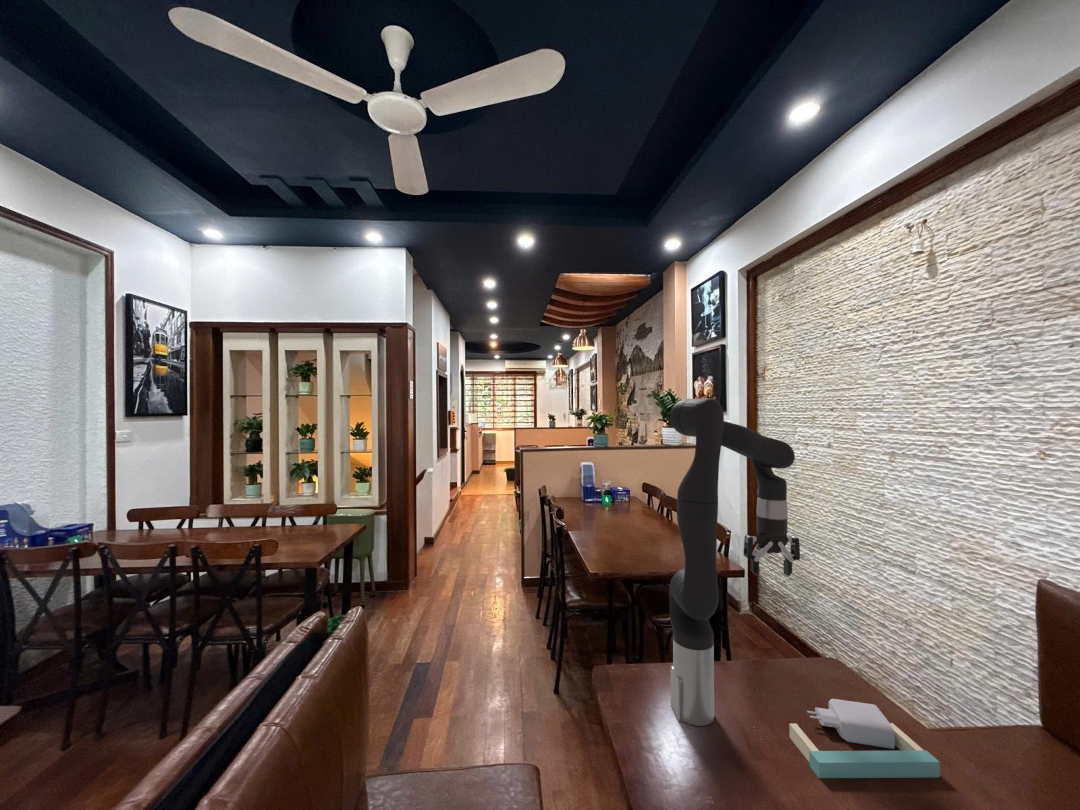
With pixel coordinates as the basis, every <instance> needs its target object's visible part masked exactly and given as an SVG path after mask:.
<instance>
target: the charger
mask: <svg viewBox="0 0 1080 810" xmlns="http://www.w3.org/2000/svg"><path fill="white" fill-rule="evenodd" d="M806 711H807V714H811V715H809V717H810V719H816V720H818V722H819V724H820V725H821V726H824V727H829V728H835V730H836V732H837V733H838V735H839V736H840V737H841V739H843V740H845V742H848V743H852V744H853V743H854V744H859V745H864V746H865V745H866V746H870V747H871V746H872V747H877V748H884V749H890V750H895V747H896V746H895V733H894V730H893V728H892V726H891V724H890V723H891V722H889V721H888V719H887V718H886V716H885V715H884V714H883V712H882V711H881V710H880V708H879V707H878V706H877V705H876V704H872V703H866V702H860V701H850V700H843V699H836V698H831V699H830V700H829V701H828V708H821V707H814V711H811V710H806ZM815 715H816V716H815Z"/></svg>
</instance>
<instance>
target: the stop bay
mask: <svg viewBox="0 0 1080 810" xmlns="http://www.w3.org/2000/svg"><path fill="white" fill-rule="evenodd" d="M889 723H890V724H891V726H892V728H893V730H894V733H895V747H896V748H898V750H819V749H818V748H817V747H816V745H815V744H814V743H813V742H812V740H810V738H809V737H808V736H807V734H806V733H805V732H804V731H803V730H802V728H800V726H799V725H798V724H797V723H789V726H788V727H789V738H790V740H791V741H792V742H793V744H794V745H795V746H796V748H797V749H798V750H799V751H800V753H801V754H802V755H803V756H804V758H805V759H806V760H807V761H808V763H809V767H810V769H811V771H813V772H814V774H815V775H816V777H817V778H818V779H867V778H868V779H881V778H882V779H888V778H889V779H890V778H891V779H892V778H894V779H898V778H901V779H903V778H904V779H906V778H910V779H911V778H914V779H915V778H916V779H917V778H919V779H920V778H921V779H922V778H941V762H940V761H939V760H938V759H937V758H936V757H935V756H934V755H932V754H931V753H930V752H929V751H928V750H926V749H925V750H924V749H923V748H922V747H921V746H920V745H918V744H917V743H916V742H915V741H914V740H913V739H911V737H909V736H908V735H907V734H906V733H904V732H903V730H901V729H900V728H899V727H898V726H897V725H895V724H894V723H893V722H889Z"/></svg>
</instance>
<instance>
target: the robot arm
mask: <svg viewBox="0 0 1080 810" xmlns="http://www.w3.org/2000/svg"><path fill="white" fill-rule="evenodd" d="M669 415H670V423H671V426H672V427H673V429H674V430H675V431H676V432H677V433H679V434H680V435H683V436H686V437H692V438H693V437H695V449H694V457H693V460H692V462H691V464H690V466H689V468H688V469H687V472H686V473H685V475H684V476H683V478H682V480H681V482H680V484H679V486H678V488H677V493H676V495H677V496H676V500H677V501H676V519H677V526H678V531H679V535H680V539H681V543H682V549H683V554H684V568H682V569H680V570H678V571H677V572H676V573H674V575H673V576H672V578H671V580H670V584H669V591H668V592H669V593H668V594H669V618H670V619H669V620H670V625H671V628H672V646H673V647H672V653H673V654H672V660H673V661H672V663H673V665H671V666H670V707H671V708H672V711H673V713H674V714H675V717H676V718H677V719H676V720H677V721H678V722H682V723H686V724H688V725H691V726H698V727H703V726H708V725H711V724H712V723H713V721H714V720H715V664H714V663H715V662H714V661H715V657H714V656H715V655H714V654H715V651H714V650H715V649H714V648H715V647H714V646H715V643H714V642H715V641H714V637H715V636H714V631H713V628H712V626H711V624H710V620H709V619H710V618H711V617H713V615H714V614H715V613H716V611H717V608H718V605H719V600H720V594H719V593H720V592H719V584H718V583H719V582H718V580H719V579H718V572H717V571H718V570H717V567H718V566H717V547H718V546H717V545H718V544H717V543H718V541H717V540H718V536H717V534H718V518H719V517H718V515H719V513H718V512H719V473H720V471H719V470H720V469H719V468H720V458H721V451H722V447H724V448H726V449H728V450H730V451H732V452H735V453H738V454H739V455H741V456H744V457H746V458H748V459H751V462H752V466H753V468H754V469H753V470H754V473H755V477H756V479H757V502H756V509H755V510H756V535H755V536H754V535H753V536H752V535H749V534H745V535H744V540H743V541H744V542H743V556H744V557H745V558H747V559H748V560H750V571H751V572H752V574H753V575H755V576H759V575H760V561H759V560H760V559H761V558H762V557H763V556H765V554H766V553H767V554H773V553H774V554H781V556H782V557H783V558H784V560H783V569H782V570H783V575H785V576H786V577H790V576H791V575H792V573H793V562H794V561H800V560H801V549H800V547H801V544H800V539H799V538H798V537H796V536H794V535H790V536H788V528H789V527H788V524H789V523H788V518H789V517H788V515H789V514H788V513H789V512H788V511H789V510H788V502H787V498H788V497H787V494H788V489H787V488H788V485H787V480H786V479H785V478H784V477H781V476H778V475H776V474H775V473H774V471H773V469H778V470H781V469H787V468H790V467H791V466H792V465H793V464H794V462H795V461H796V454H795V451H794V448H792V446H791V445H789V444H788V443H786V442H785V441H783V440H779V439H776V438H772V437H768V436H765V435H762V434H760V433H759V432H757V431H755V430H752V429H750V428H749V427H746V426H744V425H741V424H736V423H733V422H729V421H725V418H724V417H725V415H724V410H723V407H722V405H721V404H720V402H719V401H718V400H717V399H715V398H685V399H682V400H679V401H677V402H676V403H675V404H674V405H673V406H672V408H671V411H670V414H669ZM755 542H756V543H757V544H756V545H755V547H754V549H753V546H754V544H755ZM787 544H789V546H790V552H789V550H788V549H787V547H786V545H787Z"/></svg>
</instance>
